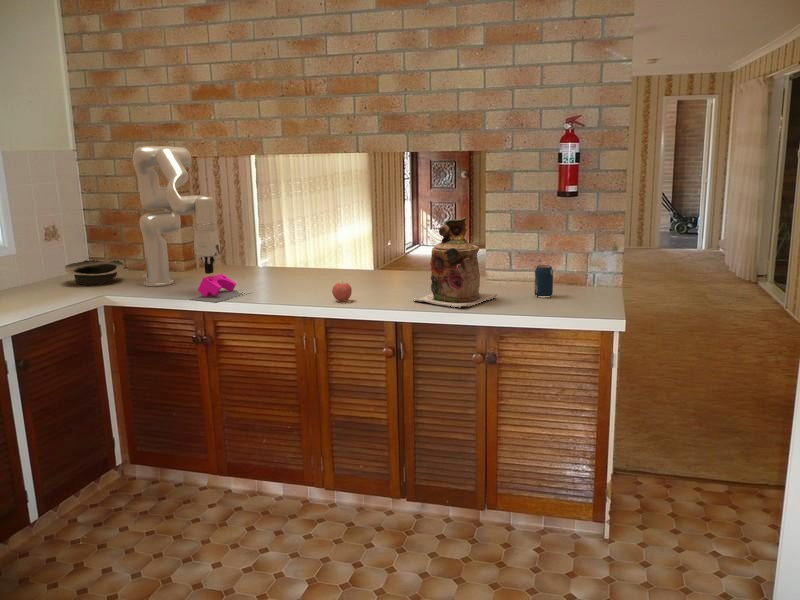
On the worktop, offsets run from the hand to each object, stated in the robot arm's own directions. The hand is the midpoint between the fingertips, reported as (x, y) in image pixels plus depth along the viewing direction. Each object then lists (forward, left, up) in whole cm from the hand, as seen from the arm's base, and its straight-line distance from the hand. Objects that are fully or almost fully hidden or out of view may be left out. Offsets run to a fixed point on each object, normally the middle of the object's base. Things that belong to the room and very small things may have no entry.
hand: (209, 273), depth 283 cm
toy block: (-1, +1, -4) cm, 4 cm away
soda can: (+124, +50, -9) cm, 134 cm away
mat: (+6, 0, -9) cm, 11 cm away
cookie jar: (+95, +30, -9) cm, 100 cm away
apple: (+56, +11, -9) cm, 58 cm away
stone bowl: (-69, +2, -10) cm, 70 cm away
